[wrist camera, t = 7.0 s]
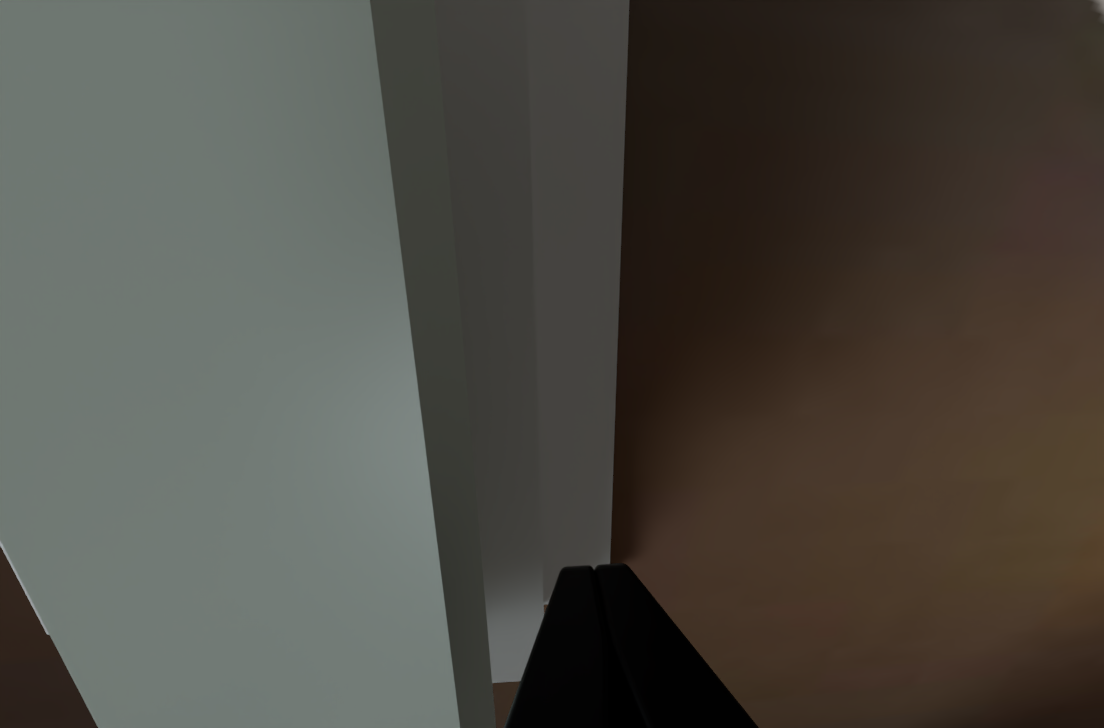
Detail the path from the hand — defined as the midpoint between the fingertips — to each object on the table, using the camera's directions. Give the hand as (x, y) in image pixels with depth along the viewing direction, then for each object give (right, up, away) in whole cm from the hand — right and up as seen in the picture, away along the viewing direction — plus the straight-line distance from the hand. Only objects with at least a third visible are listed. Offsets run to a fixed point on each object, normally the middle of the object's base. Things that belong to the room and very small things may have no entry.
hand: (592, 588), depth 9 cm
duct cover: (-6, +1, +2) cm, 7 cm away
